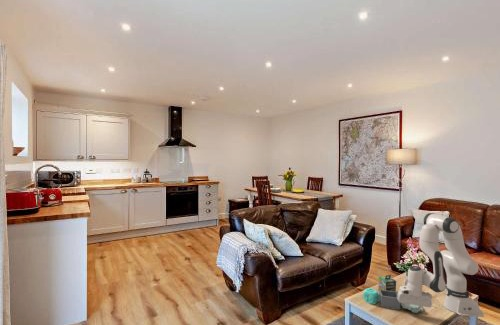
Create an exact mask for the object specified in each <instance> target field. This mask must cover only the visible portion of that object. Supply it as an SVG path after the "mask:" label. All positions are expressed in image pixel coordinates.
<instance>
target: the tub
mask: <svg viewBox="0 0 500 325" xmlns="http://www.w3.org/2000/svg"><path fill="white" fill-rule="evenodd" d="M378 294H379V300H378V302H379V306H380V307H381V308H385V309H390V310H391V309H392V310H397V311H400V310H401V304H400V303H399V301H398V300H397V296H398V291H396V292H394V291H387V290H380V289H379V288H378Z"/></svg>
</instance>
